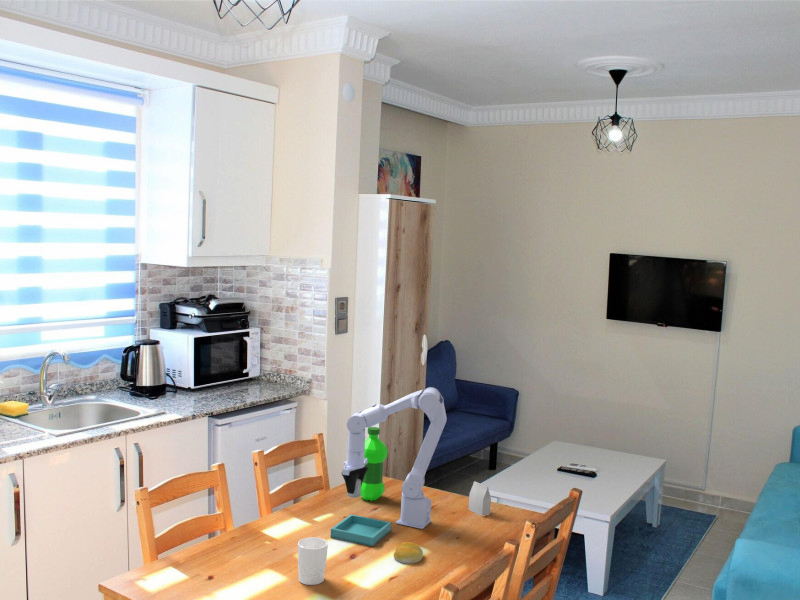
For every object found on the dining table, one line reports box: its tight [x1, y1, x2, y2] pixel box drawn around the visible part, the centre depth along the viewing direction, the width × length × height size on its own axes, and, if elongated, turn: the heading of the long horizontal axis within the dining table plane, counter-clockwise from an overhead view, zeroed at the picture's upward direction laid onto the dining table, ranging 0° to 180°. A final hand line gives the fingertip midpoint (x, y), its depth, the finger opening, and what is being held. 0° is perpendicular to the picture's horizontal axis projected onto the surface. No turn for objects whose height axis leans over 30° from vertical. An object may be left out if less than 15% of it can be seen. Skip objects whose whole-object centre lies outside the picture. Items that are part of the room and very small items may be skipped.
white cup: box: [297, 536, 329, 586], centre depth 200 cm, size 8×8×10 cm
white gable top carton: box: [468, 481, 492, 517], centre depth 256 cm, size 4×7×10 cm, turn 37°
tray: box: [330, 513, 392, 547], centre depth 233 cm, size 14×14×3 cm
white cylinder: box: [346, 479, 361, 499], centre depth 247 cm, size 4×4×5 cm
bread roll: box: [393, 541, 424, 565], centre depth 217 cm, size 8×9×4 cm
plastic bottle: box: [360, 426, 389, 502], centre depth 264 cm, size 10×10×25 cm
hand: (354, 490), depth 247 cm, fingers closed on white cylinder, 4 cm apart
